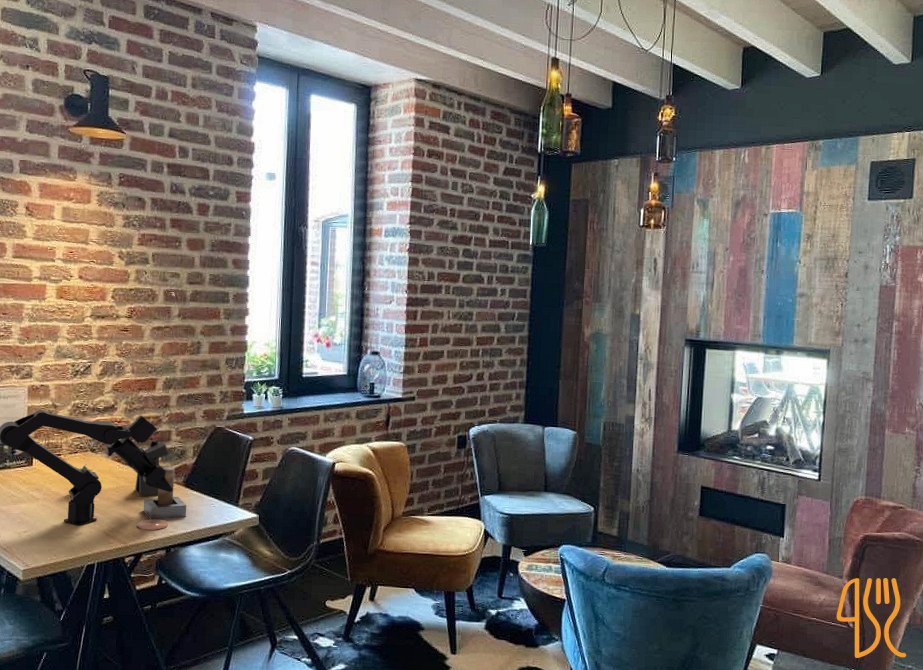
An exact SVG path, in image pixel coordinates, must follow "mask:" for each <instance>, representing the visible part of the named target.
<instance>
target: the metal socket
mask: <svg viewBox="0 0 923 670" xmlns="http://www.w3.org/2000/svg"><path fill="white" fill-rule="evenodd" d="M157 504H158V497H157V498H156V497H155V498H144V501H143V512H144V513H145V512H146V513H147V514H146V513H145V514H146V515H147V517H148V518H149V517H150V518H151V519H158V520H163V519H171V517H173V518H182V517H187V504H186V503H185V502H184V501H183V500H182V499H181V498H180V496H173V505H161V506H157ZM150 518H149V519H150ZM162 518H163V519H162ZM151 519H150V520H151Z"/></svg>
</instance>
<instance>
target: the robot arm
mask: <svg viewBox="0 0 923 670" xmlns="http://www.w3.org/2000/svg"><path fill="white" fill-rule="evenodd" d="M43 427H47V428H51V429H56V430H61V431H65V432H70V433H75V434H79V435H83V436H87V437H88V438H90V439H93V440H95V441H97V442H100V443H101V444H105V445H106V448H105V449H106V451H105V453H106V455H107V457H111V456H112V455H114V454H115V455H117V457H119V458H120V459H121V460H122V461H123V462H124V463H125V464H127V465H128V466H129V467H130V468H131V469H132V470H133V471H134V472H135V473H136V474H137V473H138V474H139V475H140V476H142V477H143V480H144V482H145V483H146V484H148V485H149V486H151V487H155V488H158V489H162V490H165V491H168V492H171V491H172V490H173V491H174V488H173V489H172V487H171V486H170V484H169V483H168V482H167V480H166V479H165V474H166V471H165V470H164V469H163V468H164V467H162V466H161V465H160V464H159V465H156V461H155V460H156V459H158V458H159V459H160V458H163V457H164V456H165V457H166V456H167V455H169V454H170V452H169V450H168V448H167V445H166V444H165V443H164V442H163V441H162V442H161V441H159V442H158V441H156V440H152V441H150V442H149V447H147V448H146V449H145V450H144V449H143V448H142V447H139V446H138V445H137V444H140V443H141V444H145V442H147V441H148V440H149V439H150V438H151V437H152V436H153V435H154V434H156V432H157V431H158V430H159V429H158V428H157V427H156V426H154V424H152V422H150V421H148V420H147V419H146V418H145V417H144V416H143V415H142V414H141V415H139V416H138V417H136V419H135V420H134V421H133V422H132V423H131V424H130V425H129V426H128V427H127V426H123V425H115V424H114V423H113V422H111V421H101V420H100V421H99V420H96V421H92V420H90V421H88V420H83V419H79V418H74V417H71V416H66V415H61V414H58V413H52V412H48V411H46V410H41V409H40V410H37V411H35V412H33V413H30V414H29V415H26V416H24V417H22V418H18V419H17V420H15V421H6V422H4V423H3V424H1V425H0V442H1V444H3V445H5V446H7V447H9V448H12V449H13V450H16V451H20V452H23V453H25V454H27V455H29V456H31V458H34V459H35V460H37V461H38V462H40V463H41V464H43V465H44V466H45V467H48V469H50V470H52V471H53V472H55V473H57V474H58V475H60V476H61V477H63V478H64V479H66V480H67V481H68V482H69V483H70V485H72V487H71V488H70V489H69V490H68V494H69V497H70V498H71V499H70V500H69V501H68V503H67V505H68V508H67V509H68V510H67V518H66V519H63V522H65V523H69V524H73V525H76V526H81V525H85V524H89V523H92V522H95V521H98V518H96V517H94V516H95V503H94V502H95V498H96V496H98V495H99V494H100V493H101V491H102V488H103V487H102V483H101V481H100V480H99V478H100V477H99V476H98V475H97V473H96V472H95V471H93V470H92V471H90V470H91V469H90V470H89V468H88V467H86V466H85V465H83V466H82V468H81V469H80V468H78V467H76V466H74V465H72V464H71V463H70V462H67V461H66V460H65V459H63V458H62V457H60V456H59V455H57V454H55V453H54V452H53V451H51V450H50V449H48V448H47V447H45V446H44V445H42V444H40V443H39V442H38V441H36V440H35V439H34V438H33V437H32V436H31V434H32V433H35V432H36V431H38V430H39V429H40V428H43ZM131 438H132V439H133V440H134V441H135V442H137V444H136V443H135V442H134V441H133V440H131Z"/></svg>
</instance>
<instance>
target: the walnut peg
mask: <svg viewBox="0 0 923 670" xmlns="http://www.w3.org/2000/svg"><path fill="white" fill-rule="evenodd" d="M162 468H163V469H164V470H165V471H166V474H165V479H166V480H167V482H168V483H169V484H170V486H171V487H172V489H173V490H172V491H171V492H168V491H165V490H162V489H158V495H157V498H158V504H157V506H161V505H173V497H174V487H175V484H174V483H175V468H174V467H170V466H168V467H167V466H164V467H162Z"/></svg>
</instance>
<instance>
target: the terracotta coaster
mask: <svg viewBox="0 0 923 670" xmlns="http://www.w3.org/2000/svg"><path fill="white" fill-rule="evenodd" d="M168 525H169V522H168V521H167V520H163V519H146V520H141V521H139V522H138V523H137V526H138V527H139V528H138V527H137V526H136V527H137V528H138V529H140V528H141V529H140V530H143V529H147V530H146V531H157V530H156V529H159V530H162V529H161V528H163V529H165V528H164V527H166V528H167V527H168ZM154 529H155V530H154Z"/></svg>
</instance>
